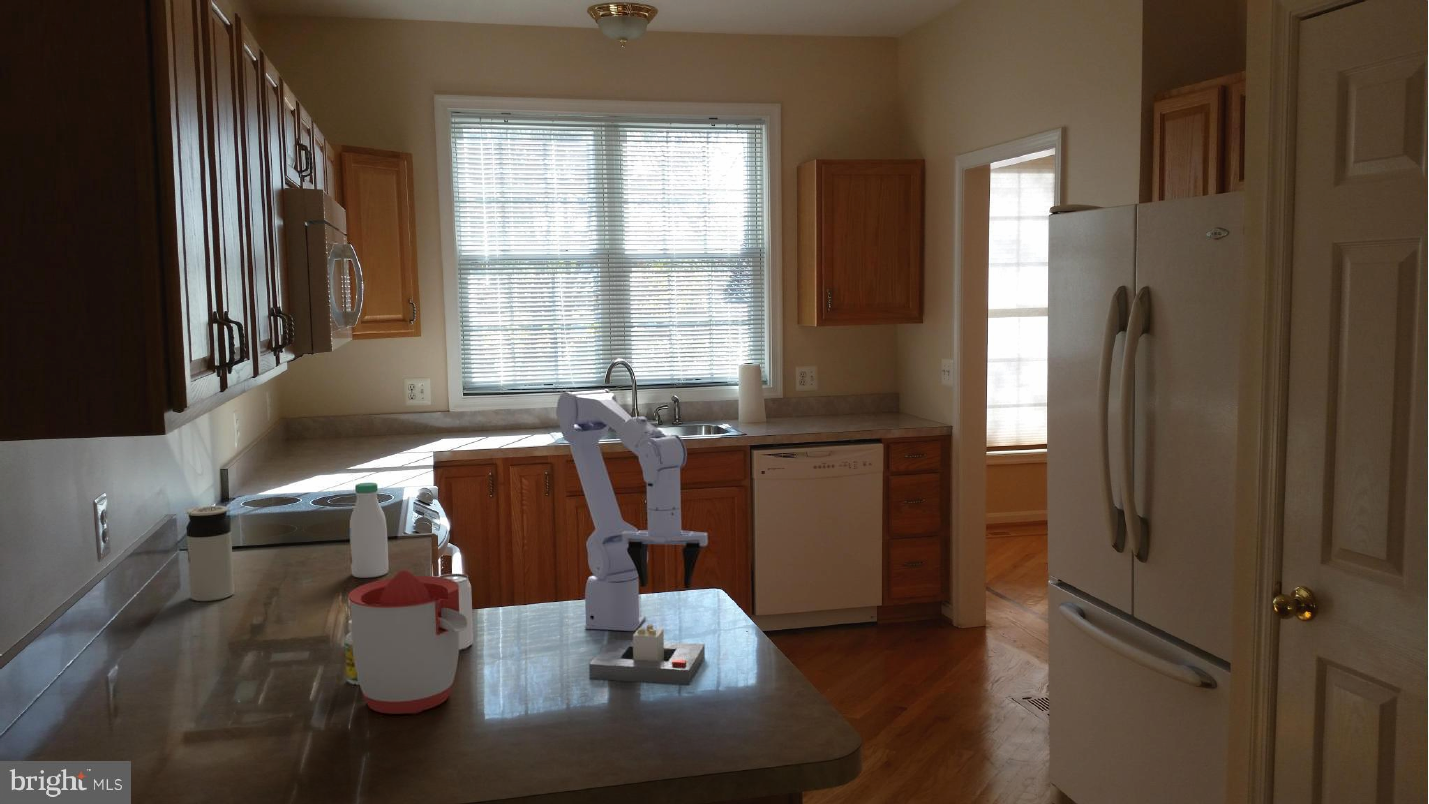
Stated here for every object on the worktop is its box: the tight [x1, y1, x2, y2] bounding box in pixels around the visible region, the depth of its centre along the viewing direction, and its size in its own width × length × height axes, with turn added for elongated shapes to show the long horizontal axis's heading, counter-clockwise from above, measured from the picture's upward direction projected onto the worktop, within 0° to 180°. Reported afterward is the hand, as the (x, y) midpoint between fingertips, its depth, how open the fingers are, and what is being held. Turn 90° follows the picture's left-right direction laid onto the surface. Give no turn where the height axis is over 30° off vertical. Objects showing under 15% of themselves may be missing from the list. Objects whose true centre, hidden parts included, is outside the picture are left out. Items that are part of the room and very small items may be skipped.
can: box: [437, 573, 474, 651], centre depth 176 cm, size 6×6×12 cm
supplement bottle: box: [344, 619, 360, 686], centre depth 160 cm, size 5×5×10 cm
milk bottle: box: [349, 482, 389, 579], centre depth 223 cm, size 8×8×20 cm
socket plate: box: [588, 638, 706, 686], centre depth 164 cm, size 16×12×3 cm
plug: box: [632, 623, 665, 662], centre depth 164 cm, size 4×4×7 cm
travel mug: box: [185, 505, 235, 602], centre depth 207 cm, size 8×8×18 cm
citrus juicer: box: [348, 569, 467, 715], centre depth 151 cm, size 16×17×20 cm
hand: (665, 586), depth 174 cm, fingers open, 7 cm apart
